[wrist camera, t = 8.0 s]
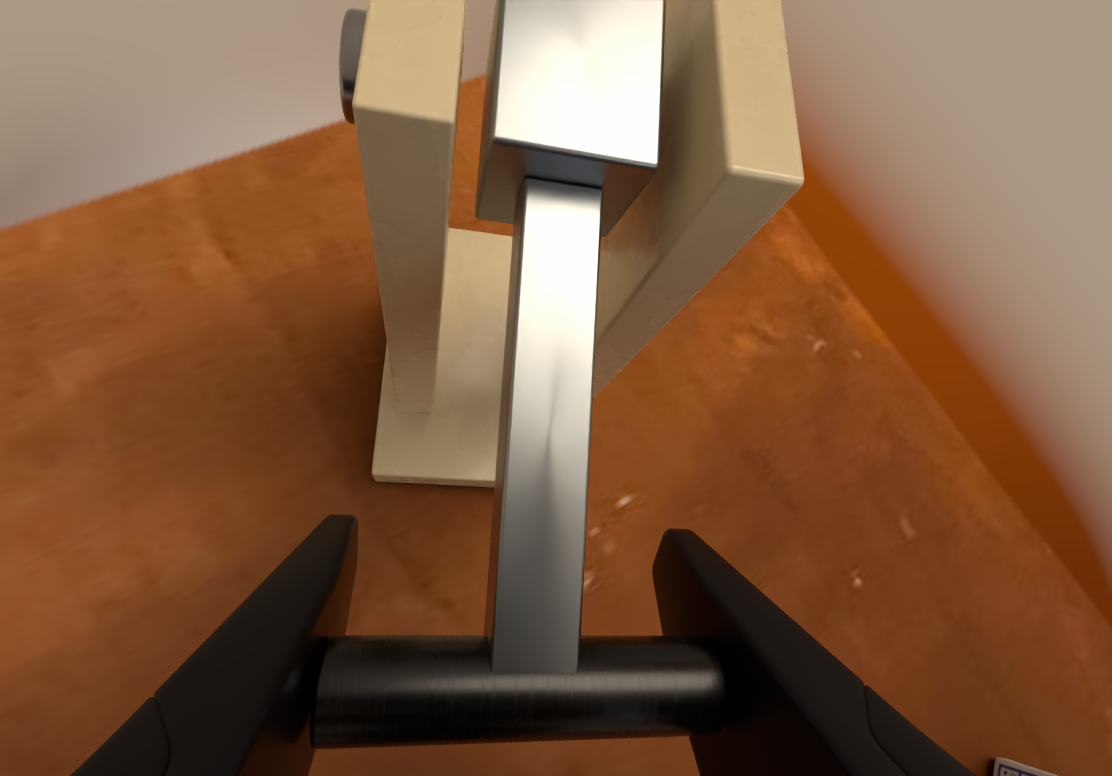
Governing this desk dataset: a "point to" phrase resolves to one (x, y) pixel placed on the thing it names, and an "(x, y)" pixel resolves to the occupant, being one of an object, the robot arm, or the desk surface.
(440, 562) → the desk surface
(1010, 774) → the medicine box
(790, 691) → the robot arm
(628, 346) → the switch bracket
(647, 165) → the switch lever
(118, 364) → the desk surface
